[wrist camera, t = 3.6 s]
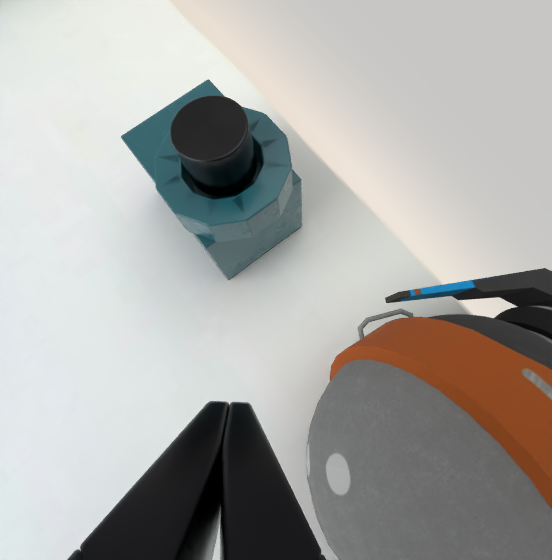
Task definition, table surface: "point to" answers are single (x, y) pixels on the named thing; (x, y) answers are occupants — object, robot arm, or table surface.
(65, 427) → the table surface
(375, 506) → the grenade
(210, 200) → the teal block with ring
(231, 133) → the black short cylinder
